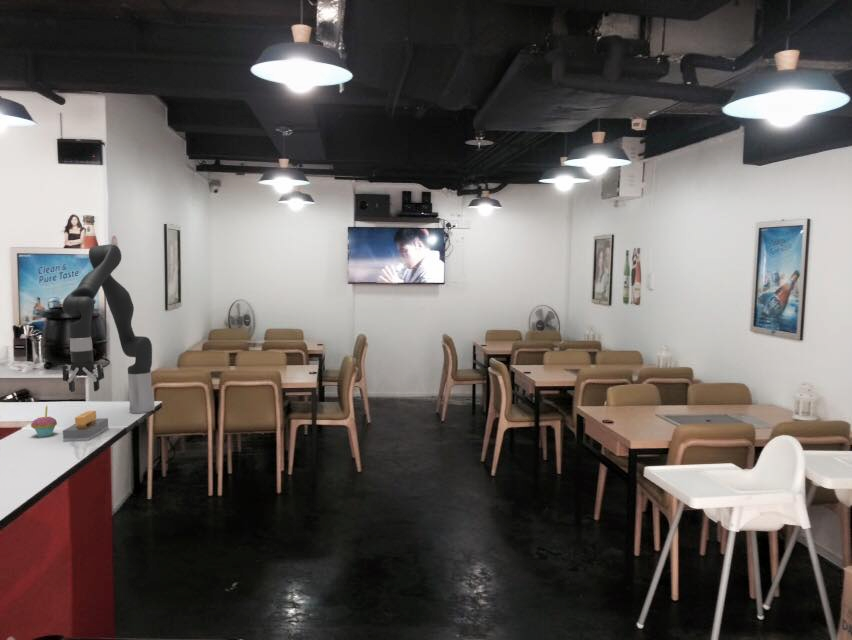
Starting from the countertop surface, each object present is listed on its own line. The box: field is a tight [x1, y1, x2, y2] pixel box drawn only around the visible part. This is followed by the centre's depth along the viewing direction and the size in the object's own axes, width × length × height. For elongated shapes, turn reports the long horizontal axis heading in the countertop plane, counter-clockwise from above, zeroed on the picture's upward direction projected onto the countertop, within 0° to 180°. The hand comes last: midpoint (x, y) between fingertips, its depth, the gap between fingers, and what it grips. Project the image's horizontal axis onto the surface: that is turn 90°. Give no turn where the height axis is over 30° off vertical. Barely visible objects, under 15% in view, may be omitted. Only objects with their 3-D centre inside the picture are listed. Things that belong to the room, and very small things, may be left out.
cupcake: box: [30, 404, 58, 438], centre depth 253 cm, size 9×8×12 cm
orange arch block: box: [74, 410, 97, 428], centre depth 253 cm, size 11×3×7 cm, turn 4°
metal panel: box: [62, 418, 109, 442], centre depth 254 cm, size 18×9×4 cm, turn 4°
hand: (84, 391), depth 252 cm, fingers open, 8 cm apart
